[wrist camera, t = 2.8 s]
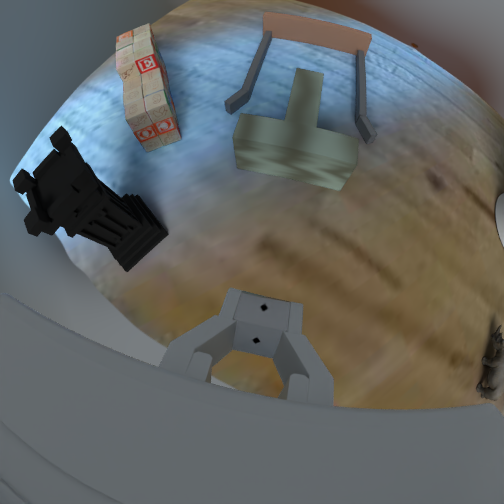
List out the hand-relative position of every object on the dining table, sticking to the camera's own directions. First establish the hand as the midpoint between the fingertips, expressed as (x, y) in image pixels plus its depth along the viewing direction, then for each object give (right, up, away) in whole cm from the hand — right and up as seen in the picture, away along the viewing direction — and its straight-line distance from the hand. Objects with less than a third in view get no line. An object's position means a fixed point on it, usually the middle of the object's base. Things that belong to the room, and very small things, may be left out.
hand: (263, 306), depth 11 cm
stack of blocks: (-18, +29, +31) cm, 46 cm away
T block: (+6, +20, +28) cm, 35 cm away
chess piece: (-18, +5, +26) cm, 32 cm away
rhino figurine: (+41, -17, +20) cm, 49 cm away
